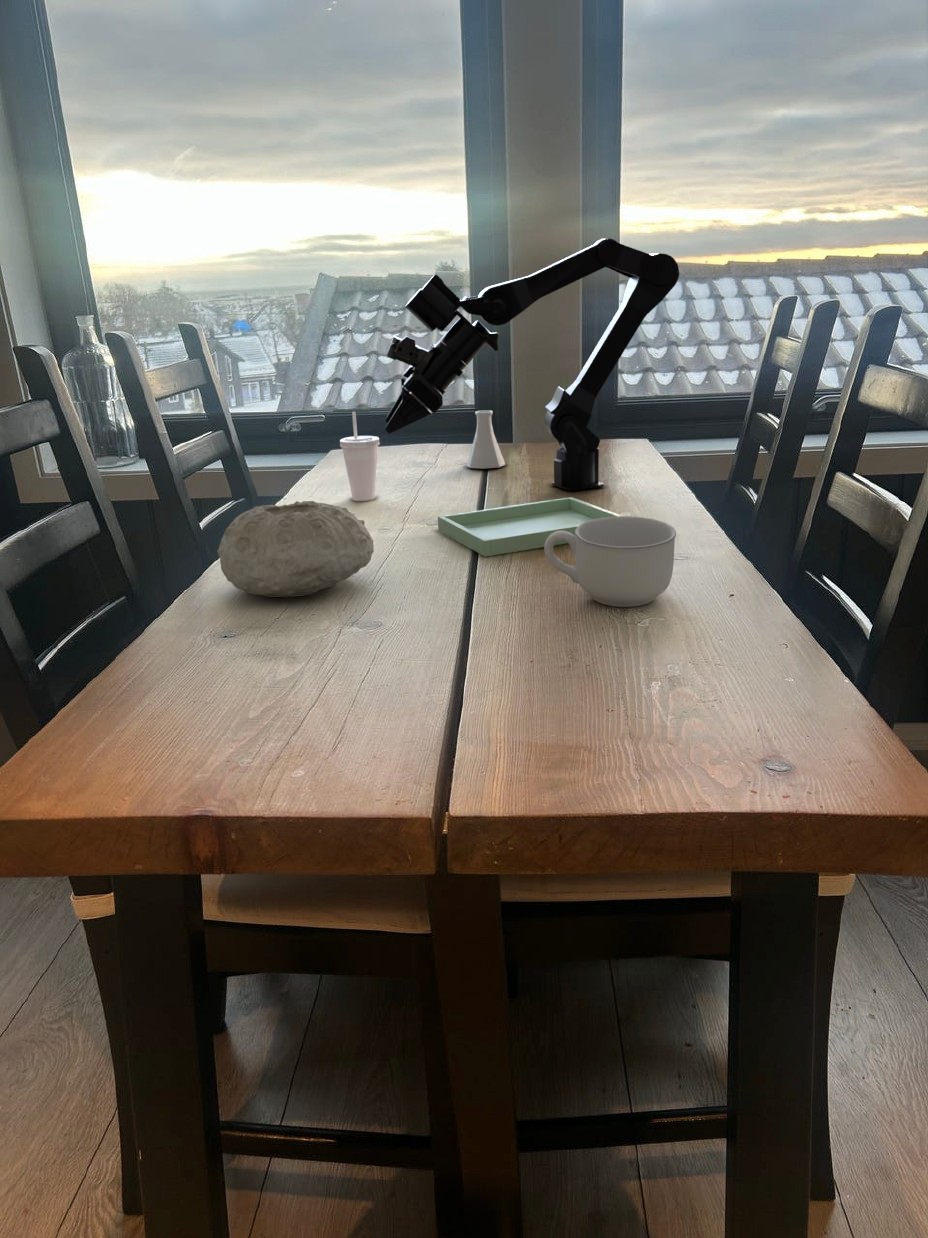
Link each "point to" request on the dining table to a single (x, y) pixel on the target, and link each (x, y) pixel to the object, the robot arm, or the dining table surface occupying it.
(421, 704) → the dining table surface
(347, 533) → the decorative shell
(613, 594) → the teacup
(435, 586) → the dining table surface
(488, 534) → the tray
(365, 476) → the smoothie
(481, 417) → the flask
